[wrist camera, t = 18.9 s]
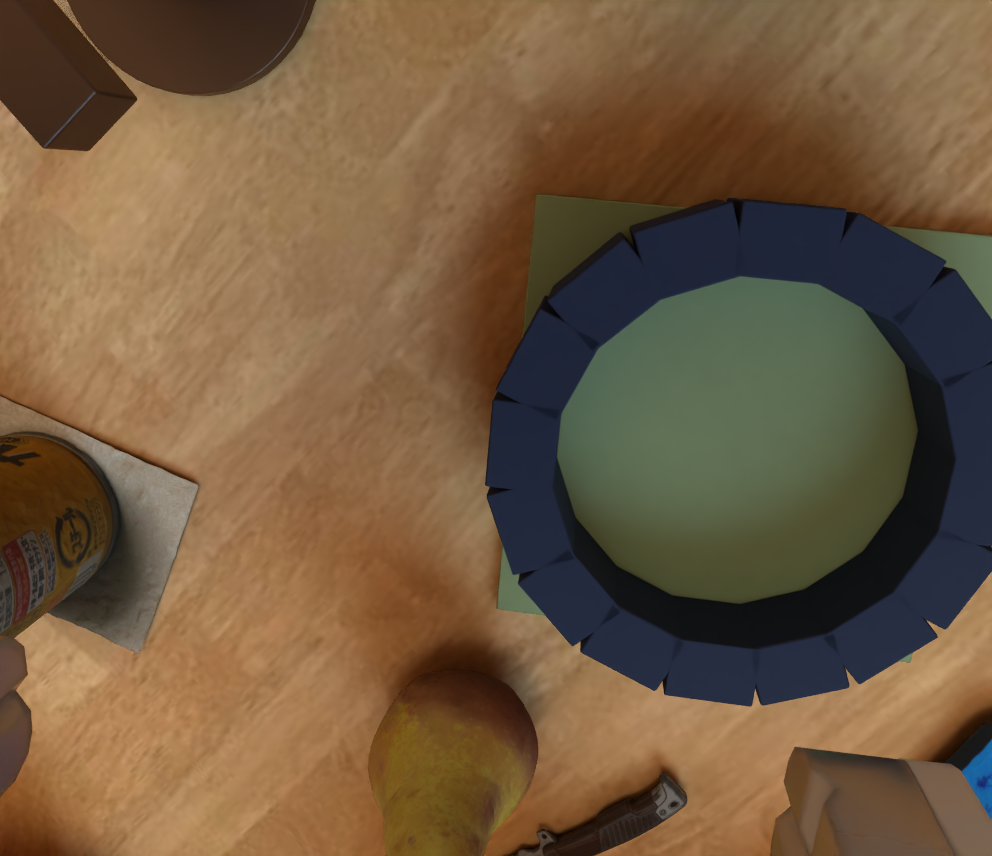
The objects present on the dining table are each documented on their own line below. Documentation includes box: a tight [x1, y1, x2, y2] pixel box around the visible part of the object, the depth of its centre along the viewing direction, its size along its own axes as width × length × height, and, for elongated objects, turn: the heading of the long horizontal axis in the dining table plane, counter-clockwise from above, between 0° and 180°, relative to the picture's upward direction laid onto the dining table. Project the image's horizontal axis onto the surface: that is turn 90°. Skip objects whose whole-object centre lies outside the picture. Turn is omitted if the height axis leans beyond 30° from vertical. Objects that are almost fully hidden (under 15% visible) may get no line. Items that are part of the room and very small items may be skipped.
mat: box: [497, 194, 992, 663], centre depth 28 cm, size 14×14×1 cm
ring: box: [485, 198, 992, 706], centre depth 27 cm, size 15×15×3 cm
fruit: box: [368, 670, 538, 856], centre depth 26 cm, size 6×6×12 cm
